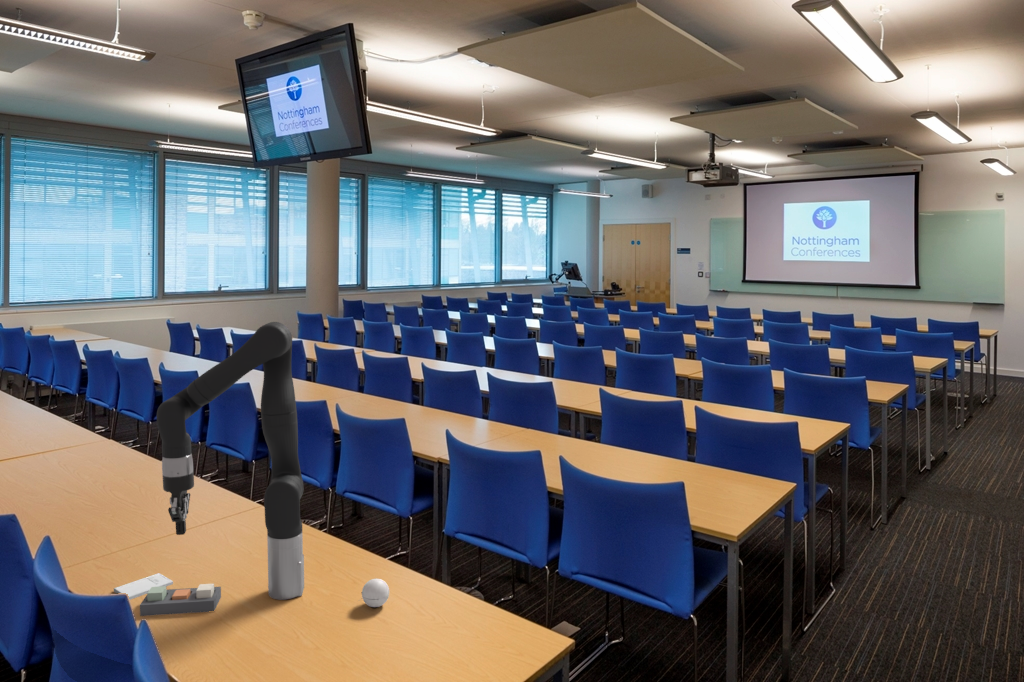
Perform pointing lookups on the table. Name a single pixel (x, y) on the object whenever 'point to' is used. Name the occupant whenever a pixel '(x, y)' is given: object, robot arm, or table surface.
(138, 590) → the external hard drive
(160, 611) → the keypad
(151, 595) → the sage button
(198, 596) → the cream button
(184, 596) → the terracotta button
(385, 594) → the white ovoid
